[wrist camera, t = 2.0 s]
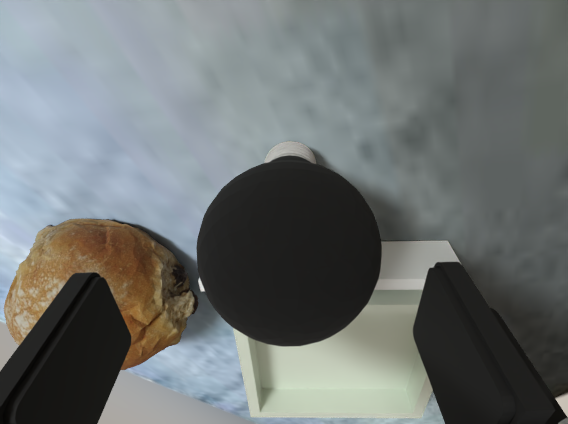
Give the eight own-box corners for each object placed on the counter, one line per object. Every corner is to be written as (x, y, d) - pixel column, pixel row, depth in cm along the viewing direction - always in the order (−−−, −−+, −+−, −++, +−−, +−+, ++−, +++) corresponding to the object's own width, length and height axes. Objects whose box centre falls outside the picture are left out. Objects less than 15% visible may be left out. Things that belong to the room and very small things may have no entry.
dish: (450, 272, 21) (467, 304, 19) (412, 386, 29) (421, 418, 27) (234, 274, 22) (228, 306, 20) (253, 386, 29) (250, 417, 27)
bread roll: (114, 166, 22) (-36, 206, 15) (235, 270, 21) (134, 365, 14) (83, 263, 27) (-41, 327, 20) (178, 351, 26) (83, 450, 19)
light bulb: (289, 223, 19) (286, 405, 11) (207, 155, 17) (127, 323, 9) (373, 157, 17) (450, 329, 9) (291, 68, 15) (288, 186, 6)
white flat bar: (447, 240, 20) (469, 278, 17) (444, 251, 20) (465, 288, 18) (209, 244, 20) (198, 281, 18) (211, 254, 21) (200, 291, 18)
